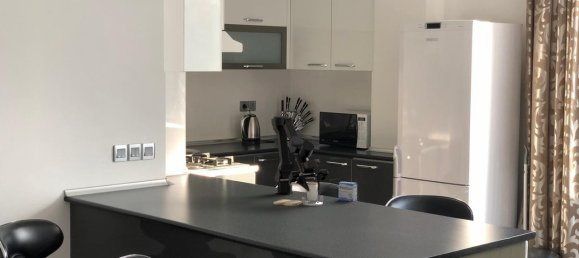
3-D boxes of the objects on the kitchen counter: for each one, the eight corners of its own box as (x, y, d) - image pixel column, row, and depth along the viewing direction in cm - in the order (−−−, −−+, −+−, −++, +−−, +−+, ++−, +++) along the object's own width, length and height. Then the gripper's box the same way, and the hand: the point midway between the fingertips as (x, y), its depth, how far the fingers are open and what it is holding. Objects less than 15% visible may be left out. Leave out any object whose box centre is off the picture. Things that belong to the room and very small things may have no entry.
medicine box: (338, 200, 385) (338, 182, 384) (342, 199, 389) (342, 181, 388) (353, 201, 381) (353, 183, 381) (357, 200, 385) (357, 182, 385)
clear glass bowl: (298, 203, 376) (298, 195, 376) (318, 201, 381) (318, 194, 380) (306, 206, 368) (306, 199, 367) (327, 205, 372) (327, 197, 372)
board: (273, 204, 374) (273, 202, 374) (282, 201, 382) (282, 199, 382) (294, 206, 369) (294, 203, 369) (303, 203, 377) (303, 201, 377)
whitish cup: (305, 200, 373) (305, 183, 372) (309, 198, 377) (310, 181, 377) (314, 201, 371) (315, 183, 370) (319, 199, 375) (319, 182, 374)
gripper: (290, 154, 372) (300, 181, 363) (327, 152, 380) (337, 178, 370) (284, 169, 380) (293, 195, 371) (319, 167, 387) (329, 193, 378)
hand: (313, 190), depth 372 cm, fingers closed on whitish cup, 5 cm apart
